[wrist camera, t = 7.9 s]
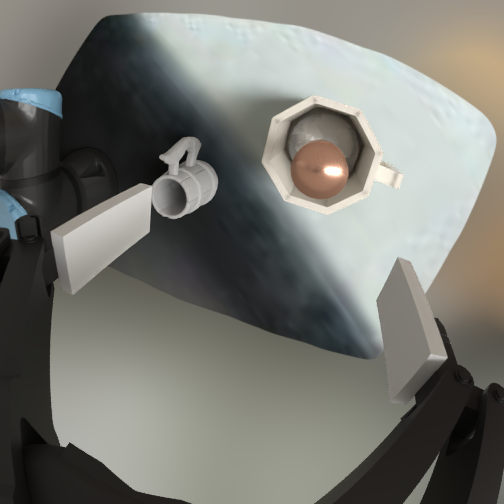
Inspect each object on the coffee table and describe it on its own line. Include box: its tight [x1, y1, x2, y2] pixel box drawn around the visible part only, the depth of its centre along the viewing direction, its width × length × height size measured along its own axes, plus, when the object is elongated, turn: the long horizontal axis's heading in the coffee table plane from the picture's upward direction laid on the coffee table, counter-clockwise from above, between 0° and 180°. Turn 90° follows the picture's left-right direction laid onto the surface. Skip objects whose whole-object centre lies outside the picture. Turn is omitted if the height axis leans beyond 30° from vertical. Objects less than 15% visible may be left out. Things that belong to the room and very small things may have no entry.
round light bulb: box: [289, 113, 358, 199], centre depth 29 cm, size 9×9×18 cm
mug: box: [151, 137, 218, 219], centre depth 41 cm, size 8×12×12 cm, turn 173°
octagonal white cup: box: [262, 95, 404, 215], centre depth 34 cm, size 16×12×13 cm
